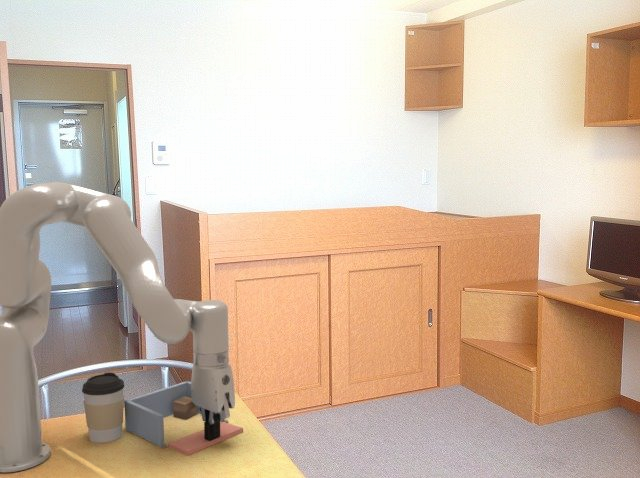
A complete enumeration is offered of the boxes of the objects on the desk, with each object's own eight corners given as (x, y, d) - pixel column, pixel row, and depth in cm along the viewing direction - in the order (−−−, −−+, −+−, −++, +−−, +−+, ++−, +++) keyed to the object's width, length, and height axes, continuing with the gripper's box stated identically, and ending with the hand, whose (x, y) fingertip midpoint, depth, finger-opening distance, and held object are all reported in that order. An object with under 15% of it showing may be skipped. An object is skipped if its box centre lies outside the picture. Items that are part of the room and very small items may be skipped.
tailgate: (168, 449, 139) (187, 457, 134) (167, 443, 139) (187, 451, 134) (223, 427, 151) (243, 433, 146) (223, 421, 151) (242, 427, 146)
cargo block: (185, 420, 153) (185, 404, 153) (173, 417, 155) (172, 401, 155) (197, 415, 156) (196, 399, 156) (185, 411, 158) (184, 396, 158)
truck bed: (164, 453, 138) (163, 418, 137) (125, 433, 148) (124, 400, 147) (228, 427, 151) (227, 395, 150) (188, 411, 161) (187, 380, 161)
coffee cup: (114, 451, 139) (110, 385, 137) (76, 448, 141) (73, 382, 139) (134, 434, 148) (131, 371, 146) (98, 431, 150) (95, 369, 148)
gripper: (247, 360, 136) (248, 442, 138) (203, 347, 146) (204, 424, 148) (220, 369, 131) (221, 454, 133) (176, 354, 140) (177, 434, 143)
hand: (212, 438), depth 141 cm, fingers closed
